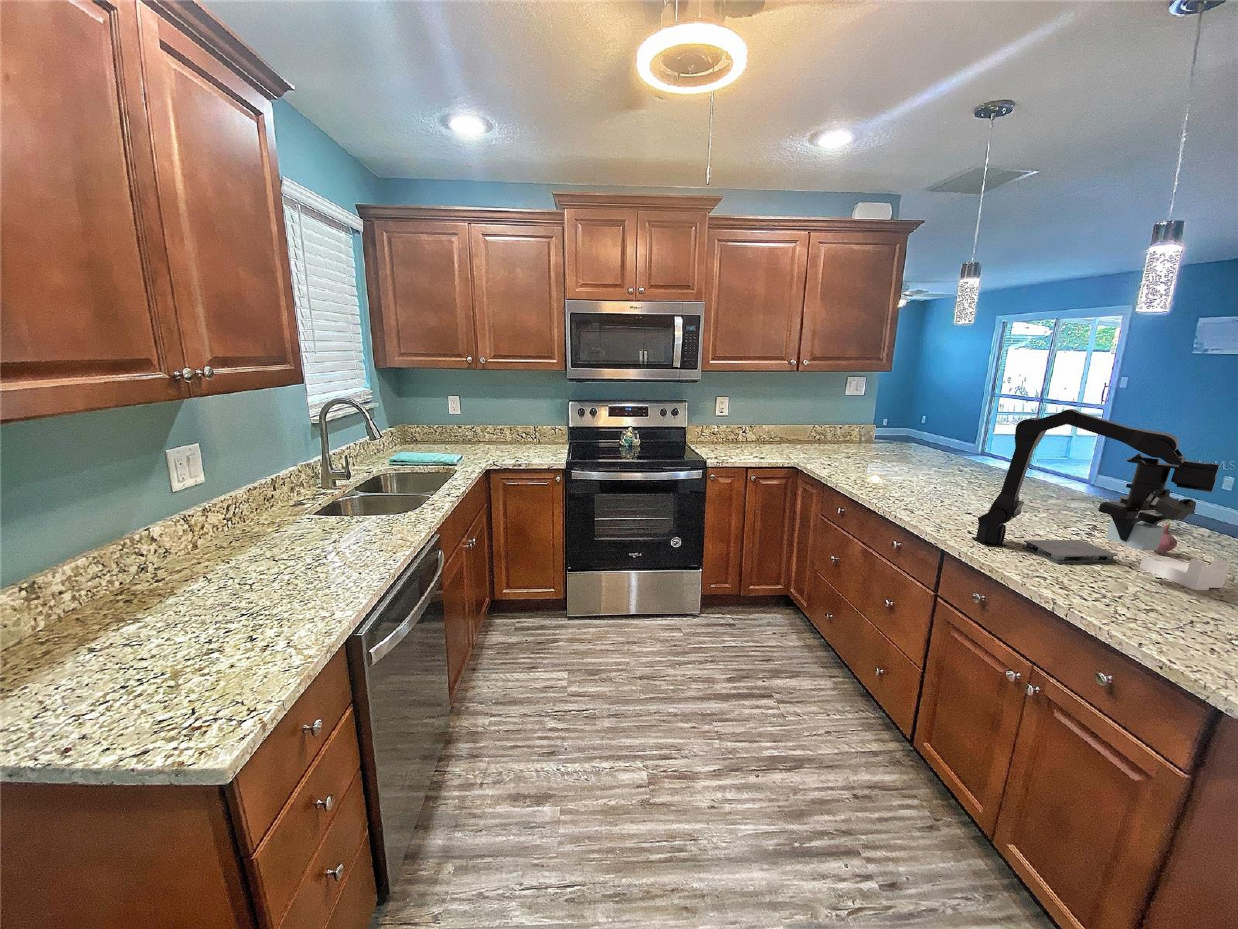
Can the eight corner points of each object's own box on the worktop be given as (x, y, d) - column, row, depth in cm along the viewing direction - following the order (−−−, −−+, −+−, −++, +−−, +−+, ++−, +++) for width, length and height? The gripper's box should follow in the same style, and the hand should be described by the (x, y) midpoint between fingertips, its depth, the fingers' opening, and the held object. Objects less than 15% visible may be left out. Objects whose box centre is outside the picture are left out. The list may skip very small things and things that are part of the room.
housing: (1141, 550, 120) (1148, 527, 119) (1105, 538, 128) (1111, 516, 127) (1157, 549, 121) (1164, 526, 120) (1120, 537, 129) (1127, 515, 127)
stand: (1056, 563, 135) (1058, 555, 135) (1022, 548, 146) (1024, 540, 145) (1115, 562, 136) (1117, 554, 136) (1077, 547, 147) (1079, 539, 146)
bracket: (1221, 591, 121) (1230, 563, 120) (1194, 591, 121) (1203, 563, 119) (1163, 568, 134) (1171, 543, 132) (1139, 568, 134) (1146, 543, 132)
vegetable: (1167, 559, 139) (1177, 527, 137) (1138, 551, 145) (1147, 520, 142) (1176, 556, 142) (1186, 524, 139) (1147, 548, 147) (1156, 517, 145)
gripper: (1158, 493, 111) (1139, 554, 115) (1221, 490, 114) (1201, 551, 118) (1104, 480, 122) (1089, 537, 126) (1163, 478, 125) (1146, 534, 129)
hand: (1131, 540), depth 124 cm, fingers closed on housing, 5 cm apart
